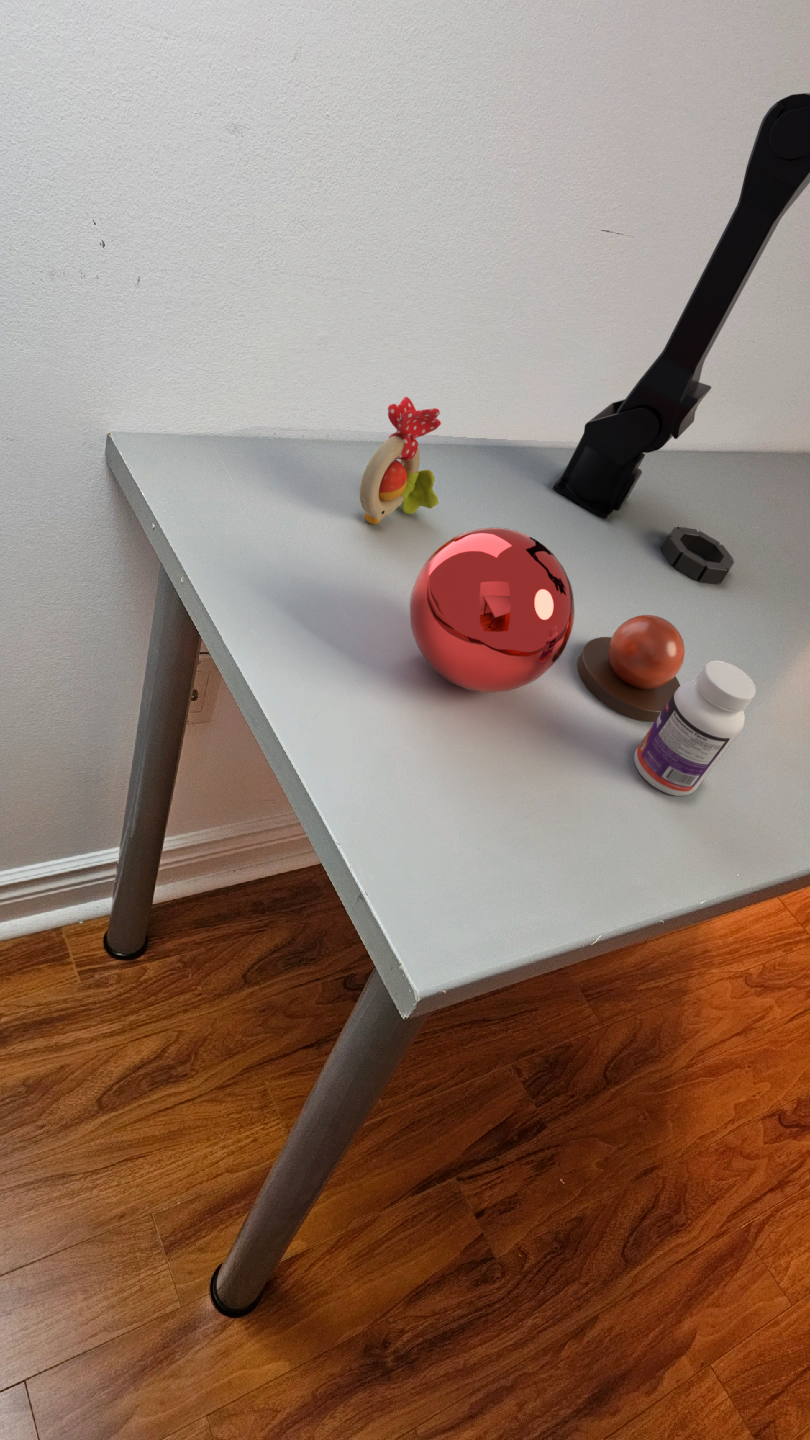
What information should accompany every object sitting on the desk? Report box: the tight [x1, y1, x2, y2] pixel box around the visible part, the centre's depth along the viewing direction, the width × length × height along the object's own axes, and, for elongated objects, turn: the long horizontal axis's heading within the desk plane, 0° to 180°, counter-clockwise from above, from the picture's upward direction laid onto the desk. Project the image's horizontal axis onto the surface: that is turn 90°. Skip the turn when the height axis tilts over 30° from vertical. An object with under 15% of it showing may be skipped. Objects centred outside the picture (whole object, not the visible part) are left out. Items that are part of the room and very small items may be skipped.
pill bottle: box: [633, 660, 757, 797], centre depth 78 cm, size 5×5×10 cm
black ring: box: [660, 526, 735, 585], centre depth 108 cm, size 7×7×2 cm
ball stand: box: [576, 614, 685, 723], centre depth 86 cm, size 9×9×6 cm
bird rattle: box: [359, 396, 442, 525], centre depth 91 cm, size 6×11×9 cm
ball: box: [409, 526, 575, 694], centre depth 77 cm, size 12×12×12 cm
